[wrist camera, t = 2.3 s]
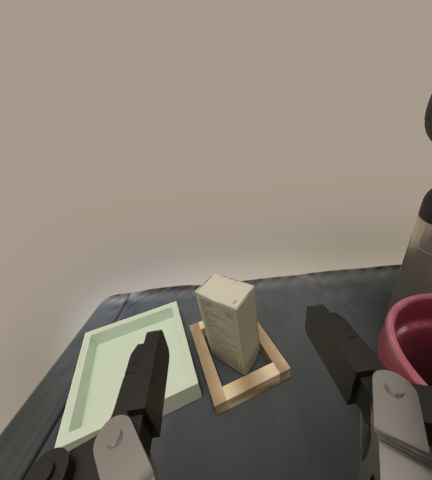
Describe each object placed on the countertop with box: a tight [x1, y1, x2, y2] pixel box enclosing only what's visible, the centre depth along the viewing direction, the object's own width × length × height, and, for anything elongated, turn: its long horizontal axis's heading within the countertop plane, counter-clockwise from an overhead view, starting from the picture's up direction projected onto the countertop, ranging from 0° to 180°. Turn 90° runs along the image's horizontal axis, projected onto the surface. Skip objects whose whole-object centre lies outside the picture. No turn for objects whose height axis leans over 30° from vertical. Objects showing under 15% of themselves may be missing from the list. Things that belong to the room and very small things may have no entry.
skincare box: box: [195, 274, 260, 376], centre depth 27 cm, size 6×4×12 cm
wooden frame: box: [190, 321, 291, 415], centre depth 29 cm, size 10×12×2 cm
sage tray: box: [55, 301, 202, 451], centre depth 29 cm, size 15×15×3 cm
